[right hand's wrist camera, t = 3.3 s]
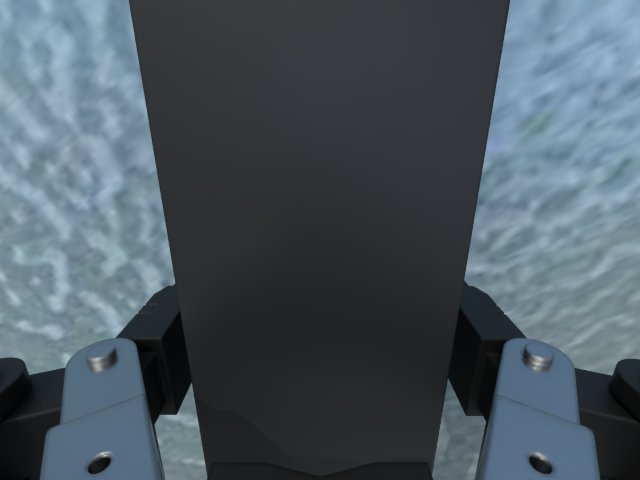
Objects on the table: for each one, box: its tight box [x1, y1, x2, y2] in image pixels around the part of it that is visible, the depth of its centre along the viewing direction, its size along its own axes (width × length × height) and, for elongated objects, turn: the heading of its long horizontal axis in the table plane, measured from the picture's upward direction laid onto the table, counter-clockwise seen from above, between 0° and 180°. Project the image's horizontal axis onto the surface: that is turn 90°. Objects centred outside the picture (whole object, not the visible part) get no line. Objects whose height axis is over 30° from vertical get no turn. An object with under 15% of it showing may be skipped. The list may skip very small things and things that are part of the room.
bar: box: [129, 0, 510, 477], centre depth 9 cm, size 22×6×8 cm, turn 0°
